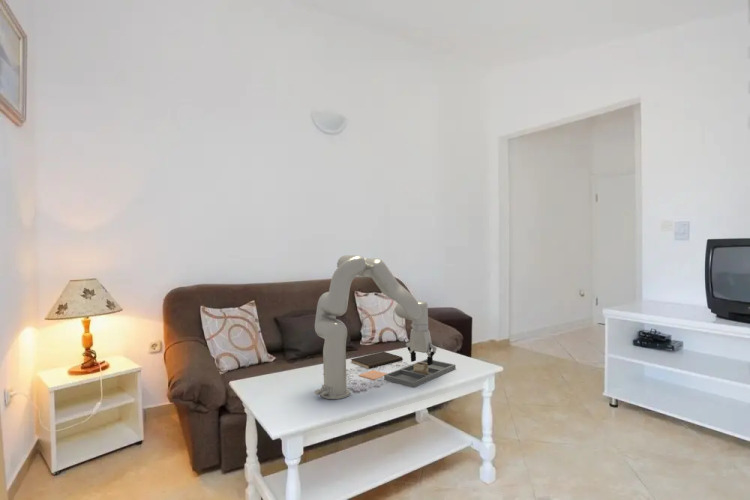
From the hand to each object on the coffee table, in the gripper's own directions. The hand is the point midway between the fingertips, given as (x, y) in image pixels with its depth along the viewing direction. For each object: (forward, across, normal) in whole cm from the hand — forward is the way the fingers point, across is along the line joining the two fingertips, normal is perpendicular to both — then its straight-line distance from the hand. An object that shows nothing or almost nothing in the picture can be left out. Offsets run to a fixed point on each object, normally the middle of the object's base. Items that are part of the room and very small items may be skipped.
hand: (421, 362), depth 197 cm
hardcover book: (+6, -32, +4) cm, 33 cm away
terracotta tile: (+5, -17, -16) cm, 24 cm away
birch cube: (+5, 0, -1) cm, 5 cm away
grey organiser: (+6, 0, -1) cm, 6 cm away
